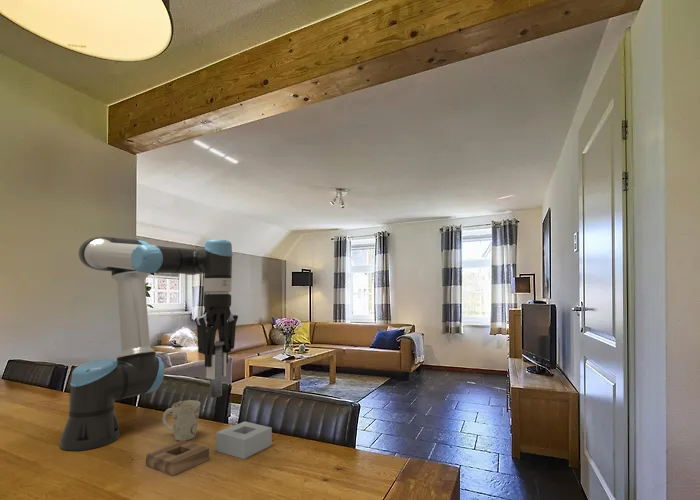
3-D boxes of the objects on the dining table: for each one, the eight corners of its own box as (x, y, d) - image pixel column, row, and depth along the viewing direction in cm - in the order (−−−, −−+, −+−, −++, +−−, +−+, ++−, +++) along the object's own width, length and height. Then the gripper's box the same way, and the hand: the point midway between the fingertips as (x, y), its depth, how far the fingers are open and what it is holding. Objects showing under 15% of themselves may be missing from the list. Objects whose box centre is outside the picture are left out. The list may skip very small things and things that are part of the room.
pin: (204, 396, 111) (205, 341, 112) (217, 393, 114) (218, 340, 116) (214, 398, 109) (215, 342, 110) (226, 395, 112) (227, 341, 114)
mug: (189, 443, 119) (190, 408, 120) (152, 440, 121) (153, 406, 122) (204, 433, 127) (205, 401, 128) (169, 430, 129) (171, 398, 130)
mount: (146, 465, 104) (146, 453, 104) (182, 450, 113) (183, 440, 114) (172, 475, 98) (173, 463, 98) (208, 459, 108) (209, 447, 108)
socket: (216, 450, 113) (216, 432, 114) (244, 438, 123) (244, 421, 123) (243, 459, 108) (244, 439, 108) (271, 445, 117) (271, 427, 118)
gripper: (202, 293, 106) (200, 384, 103) (248, 292, 119) (247, 373, 117) (184, 294, 110) (182, 381, 107) (231, 293, 123) (230, 370, 121)
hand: (216, 377), depth 112 cm, fingers closed on pin, 3 cm apart
